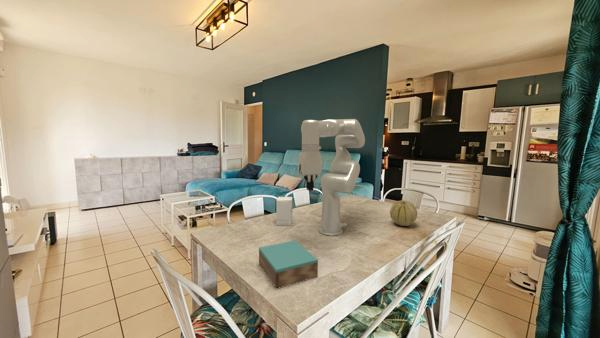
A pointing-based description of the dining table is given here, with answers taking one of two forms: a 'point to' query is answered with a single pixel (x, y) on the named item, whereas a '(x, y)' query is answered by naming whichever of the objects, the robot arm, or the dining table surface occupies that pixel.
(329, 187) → the robot arm
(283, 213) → the supplement box
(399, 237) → the dining table surface
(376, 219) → the dining table surface
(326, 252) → the dining table surface
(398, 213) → the cantaloupe
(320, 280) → the dining table surface
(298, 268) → the brown wooden box
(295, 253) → the lid
